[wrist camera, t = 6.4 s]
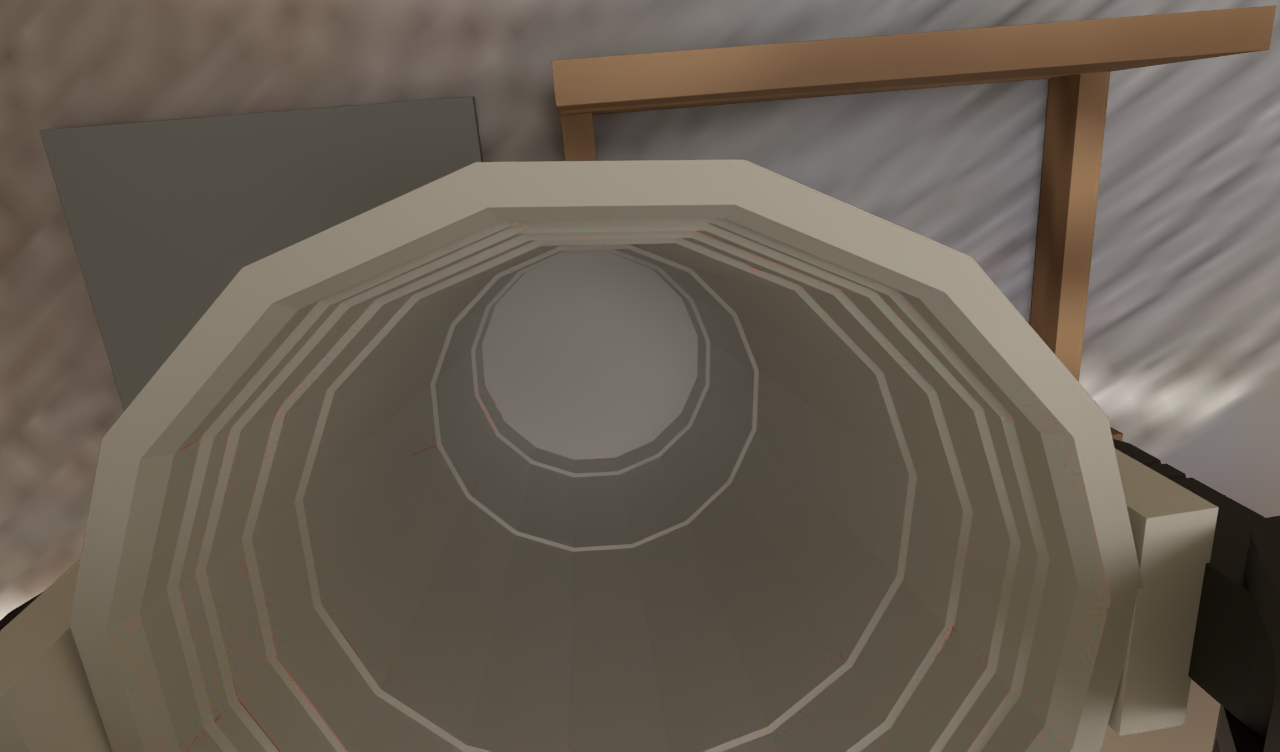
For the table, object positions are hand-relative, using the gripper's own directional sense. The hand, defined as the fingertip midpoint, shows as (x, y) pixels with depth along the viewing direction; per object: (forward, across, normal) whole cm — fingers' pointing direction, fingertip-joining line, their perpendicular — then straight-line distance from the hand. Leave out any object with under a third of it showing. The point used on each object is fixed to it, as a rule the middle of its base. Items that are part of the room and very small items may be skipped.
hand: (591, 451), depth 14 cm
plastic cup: (+6, 0, 0) cm, 6 cm away
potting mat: (+19, -11, -1) cm, 22 cm away
